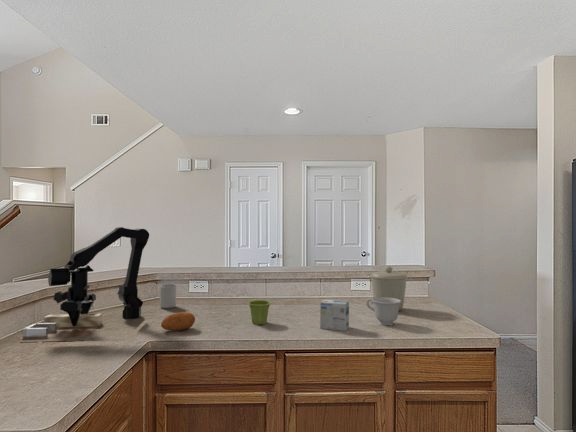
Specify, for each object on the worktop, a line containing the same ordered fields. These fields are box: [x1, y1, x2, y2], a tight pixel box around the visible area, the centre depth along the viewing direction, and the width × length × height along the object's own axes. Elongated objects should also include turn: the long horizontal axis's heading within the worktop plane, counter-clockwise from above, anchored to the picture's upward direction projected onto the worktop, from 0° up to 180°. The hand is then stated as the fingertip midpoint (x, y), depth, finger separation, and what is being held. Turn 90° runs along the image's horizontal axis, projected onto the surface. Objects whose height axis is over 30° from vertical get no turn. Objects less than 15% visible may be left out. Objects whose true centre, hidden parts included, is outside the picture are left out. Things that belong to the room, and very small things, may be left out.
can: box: [159, 282, 177, 310], centre depth 192 cm, size 8×8×12 cm
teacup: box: [365, 297, 401, 326], centre depth 164 cm, size 12×15×10 cm
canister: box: [369, 265, 409, 312], centre depth 190 cm, size 18×18×21 cm
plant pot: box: [248, 299, 271, 326], centre depth 163 cm, size 9×9×9 cm
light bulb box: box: [319, 299, 350, 332], centre depth 157 cm, size 11×7×11 cm, turn 71°
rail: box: [43, 313, 103, 327], centre depth 152 cm, size 20×4×4 cm, turn 96°
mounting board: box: [19, 321, 105, 344], centre depth 147 cm, size 21×21×2 cm
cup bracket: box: [22, 322, 57, 339], centre depth 140 cm, size 8×8×3 cm
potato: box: [160, 311, 196, 331], centre depth 152 cm, size 7×13×7 cm, turn 112°
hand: (78, 323), depth 152 cm, fingers open, 8 cm apart
